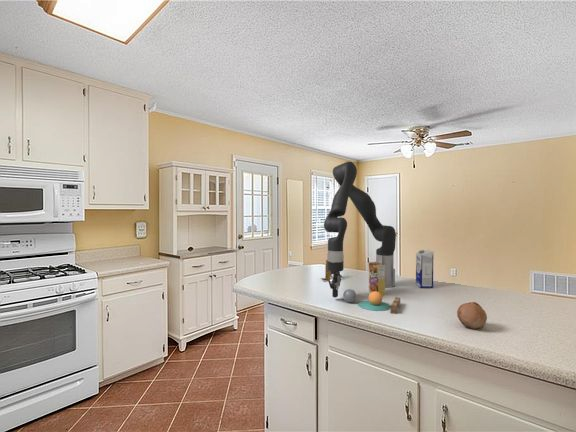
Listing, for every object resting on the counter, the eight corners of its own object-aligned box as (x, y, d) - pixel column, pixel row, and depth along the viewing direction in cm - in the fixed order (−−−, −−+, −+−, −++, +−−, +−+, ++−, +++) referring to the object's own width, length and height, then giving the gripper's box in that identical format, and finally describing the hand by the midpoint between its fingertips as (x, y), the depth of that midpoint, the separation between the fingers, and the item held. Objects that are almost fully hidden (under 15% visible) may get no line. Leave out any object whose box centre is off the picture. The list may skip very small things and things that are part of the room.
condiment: (337, 281, 188) (337, 260, 187) (323, 281, 187) (323, 261, 186) (334, 278, 195) (334, 258, 195) (320, 278, 194) (320, 259, 193)
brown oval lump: (473, 332, 120) (479, 306, 122) (489, 335, 110) (495, 307, 113) (449, 322, 120) (455, 296, 122) (463, 324, 111) (469, 297, 113)
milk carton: (433, 288, 171) (433, 251, 171) (420, 288, 171) (421, 251, 171) (427, 285, 178) (428, 249, 178) (415, 284, 179) (416, 249, 178)
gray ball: (348, 288, 151) (355, 299, 149) (338, 293, 149) (345, 305, 147) (354, 285, 145) (361, 297, 144) (344, 291, 143) (350, 303, 142)
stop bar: (395, 303, 144) (395, 297, 144) (400, 304, 143) (400, 297, 143) (390, 313, 132) (390, 305, 132) (395, 313, 131) (395, 306, 131)
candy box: (368, 291, 165) (368, 261, 165) (375, 290, 167) (375, 261, 166) (377, 296, 157) (378, 265, 156) (385, 295, 158) (385, 264, 158)
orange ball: (380, 290, 146) (369, 297, 147) (374, 287, 142) (363, 294, 143) (387, 302, 142) (376, 309, 143) (381, 298, 138) (370, 305, 139)
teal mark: (380, 299, 150) (380, 299, 150) (397, 309, 136) (397, 308, 136) (352, 302, 147) (352, 301, 147) (367, 311, 133) (367, 311, 133)
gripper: (332, 257, 157) (332, 292, 157) (322, 261, 145) (322, 299, 145) (347, 258, 153) (347, 294, 154) (338, 263, 142) (338, 301, 142)
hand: (335, 296), depth 150 cm, fingers closed
